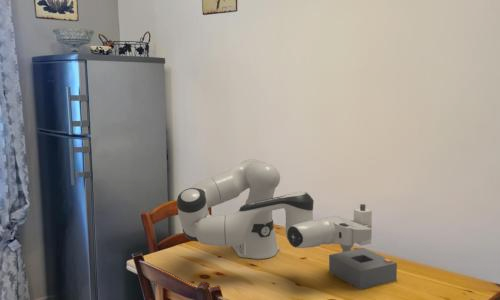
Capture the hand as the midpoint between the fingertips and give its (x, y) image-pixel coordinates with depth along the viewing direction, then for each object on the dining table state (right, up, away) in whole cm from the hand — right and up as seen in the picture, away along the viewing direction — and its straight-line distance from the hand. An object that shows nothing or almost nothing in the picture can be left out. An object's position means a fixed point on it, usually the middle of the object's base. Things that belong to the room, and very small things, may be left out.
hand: (364, 224), depth 167 cm
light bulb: (-2, -17, +20) cm, 26 cm away
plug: (-1, -7, 0) cm, 7 cm away
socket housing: (0, -19, +2) cm, 19 cm away
